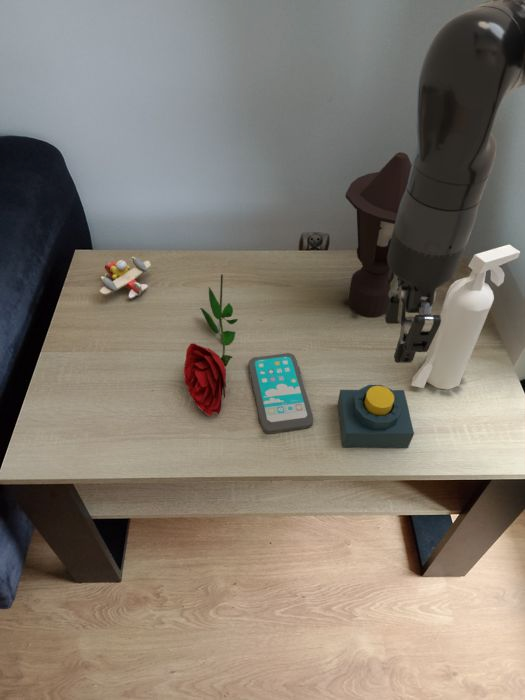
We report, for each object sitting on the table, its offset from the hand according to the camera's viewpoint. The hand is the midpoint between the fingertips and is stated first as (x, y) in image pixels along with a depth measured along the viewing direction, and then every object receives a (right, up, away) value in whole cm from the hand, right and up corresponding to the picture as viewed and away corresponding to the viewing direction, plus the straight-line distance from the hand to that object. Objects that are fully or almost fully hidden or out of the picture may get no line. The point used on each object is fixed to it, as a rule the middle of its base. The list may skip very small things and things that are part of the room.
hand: (397, 340), depth 65 cm
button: (0, -9, +11) cm, 14 cm away
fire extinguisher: (+12, -6, +22) cm, 25 cm away
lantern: (+3, +8, +34) cm, 35 cm away
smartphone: (-14, -8, +19) cm, 25 cm away
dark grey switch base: (0, -13, +15) cm, 20 cm away
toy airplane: (-44, +11, +36) cm, 57 cm away
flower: (-26, -2, +25) cm, 36 cm away
